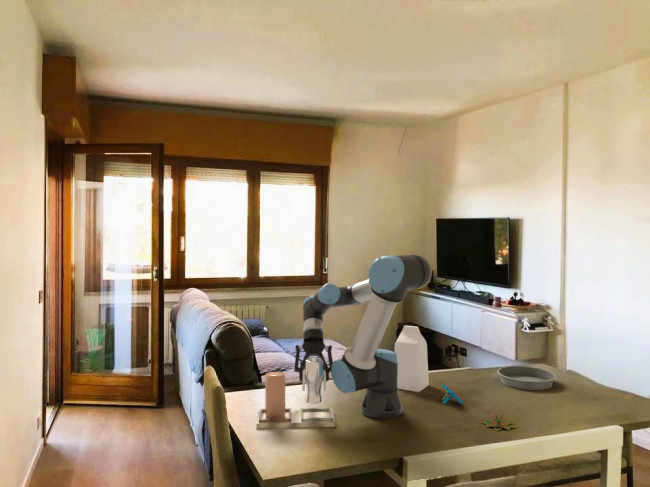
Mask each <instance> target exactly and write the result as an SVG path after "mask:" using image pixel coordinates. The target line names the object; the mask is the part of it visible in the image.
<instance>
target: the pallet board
mask: <svg viewBox="0 0 650 487" xmlns="http://www.w3.org/2000/svg"><path fill="white" fill-rule="evenodd" d="M333 410H334V409H333V408H331V407H301V408H300V409H292V407H291V408H288V407H287V408H286V407H285V418H284V419H266V417H265V408H261V409H260V410H259V411H258V413H257V420H256V429H283V428H284V429H287V428H289V429H291V428H292V429H295V428H326V427H327V428H330V427H332V428H333V427H336V418H335V414H334V411H333Z"/></svg>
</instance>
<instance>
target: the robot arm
mask: <svg viewBox="0 0 650 487" xmlns="http://www.w3.org/2000/svg"><path fill="white" fill-rule="evenodd" d="M432 272H433V271H432V266H431V264H430V262H429V261H428V260H427V259H426V258H425V257H423V256H421V255H418V254H405V255H404V254H401V255H395V254H394V255H393V254H388V255H385V256H380V257H378V258H376V259H375V260H374V261H373V262H372V263H371V265H370V267H369V269H368V273H367V274H368V275H367V276H368V279H365V280H362V281H359V282H356V283H354V284H351V285H347V286H339V287H338V286H337V285H336V284H334V283H331V282H327V283H325V284H324V285H323V286H321V287H320V288H319V289H318V291H317V292H316V293H315V294H314V295H309V296H306V297H305V299H304V300H303V305H302V310H303V311H302V313H303V317H302V318H303V328H302V330H303V334H302V335H303V337H302V338H303V343H302V344H301V345H299V344H296V345H295V349H294V350H295V359H294V366H293V367H294V369H293V370H294V371H293V372H295V373H298V374H299V375H298V380H299V382H302V392H305V389H306V383H305V372H304V369H305V359H306V358H309V357H319V358H322V359H324V377H323V383H322V386H323V391H324V392H326V391H327V382H329V381H330V374H331V378H332V381H333V384H334V387H336V389H338V391H339V392H341V393H343V394H349V393H355V392H359V391H363V390H365V393H364V396H363V399H362V402H361V406H360V412H361V414H362V415H364V416H366V417H369V418H371V419H394V418H397V417H400V416H401V415H402V414H403V405H402V402H401V400H400V396H399V392H398V388H397V375H398V362H397V354H396V353H395V352H394V351H392V350H388V349H383V348H379V346H380V344H381V341H382V339H383V337H384V335H385V332H386V330H387V327H388V325H389V323H390V320H391V318H392V316H393V313H394V311H395V309H396V306H397V304H401V303H403V301H404V300H405V297H406V295H407V293H408V291H413V290H420V289H422V288H424V287H425V286H427V285H428V284H429V283H430V282H431V279H432V275H433V273H432ZM366 301H368V304H367V306H366V309H365V311H364V314H363V317H362V319H361V320H360V321H361V322H360V323H359V326H358V328H357V329H358V330H357V332H356V334H355V336H354V339H353V340H352V344H351V346H349V347H347V348H346V349H345V351H344V353H343V354H342V357H341V359H337V360H335V361H333V354H332V351H333V350H332V349H333V345H331V344H329V345H326V344H325V343H324V315H325V314H326V313H327V312H328V311H329V310H330V309H332V308H333V309H334V308H339V307H347V306H358V305H362V304H364V303H365V302H366ZM302 350H303V351H304V352H305V353H304V357H303V359H302V361H301V364H300V366H299V363H300V362H299V361H300V355H301V354H300V353H301V352H302ZM324 350H325V352H326V353H327V360H328V364H327V362H326V359H325V357H324V354H323V351H324Z"/></svg>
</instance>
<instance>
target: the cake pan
mask: <svg viewBox="0 0 650 487" xmlns="http://www.w3.org/2000/svg"><path fill="white" fill-rule="evenodd" d="M496 373H497V374H498V375H499V377H500V382H501V383H502V384H504V385H506V386H508V387H512V388H515V389H520V390H531V391H540V390H548V389H550V388H552V387H553V384H554V381H555V380H556V379H557V377H558V376H557V375H556V374H555V373H554V372H552V371H550V370H547V369H543V368H539V367H534V366H533V367H532V366H525V365H524V366H523V365H510V366H502V367H500V368H497V371H496Z"/></svg>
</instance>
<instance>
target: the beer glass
mask: <svg viewBox="0 0 650 487" xmlns="http://www.w3.org/2000/svg"><path fill="white" fill-rule="evenodd" d="M324 359H325V358H324ZM324 359H322V358H319V357H318V356H309V358H306V359H305V368H304V372H305V389H306V393H305V399H304V400H305V402H306V404H312V405H317V404H321V403H322V402H323V396H322V387H323V377H324Z"/></svg>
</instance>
